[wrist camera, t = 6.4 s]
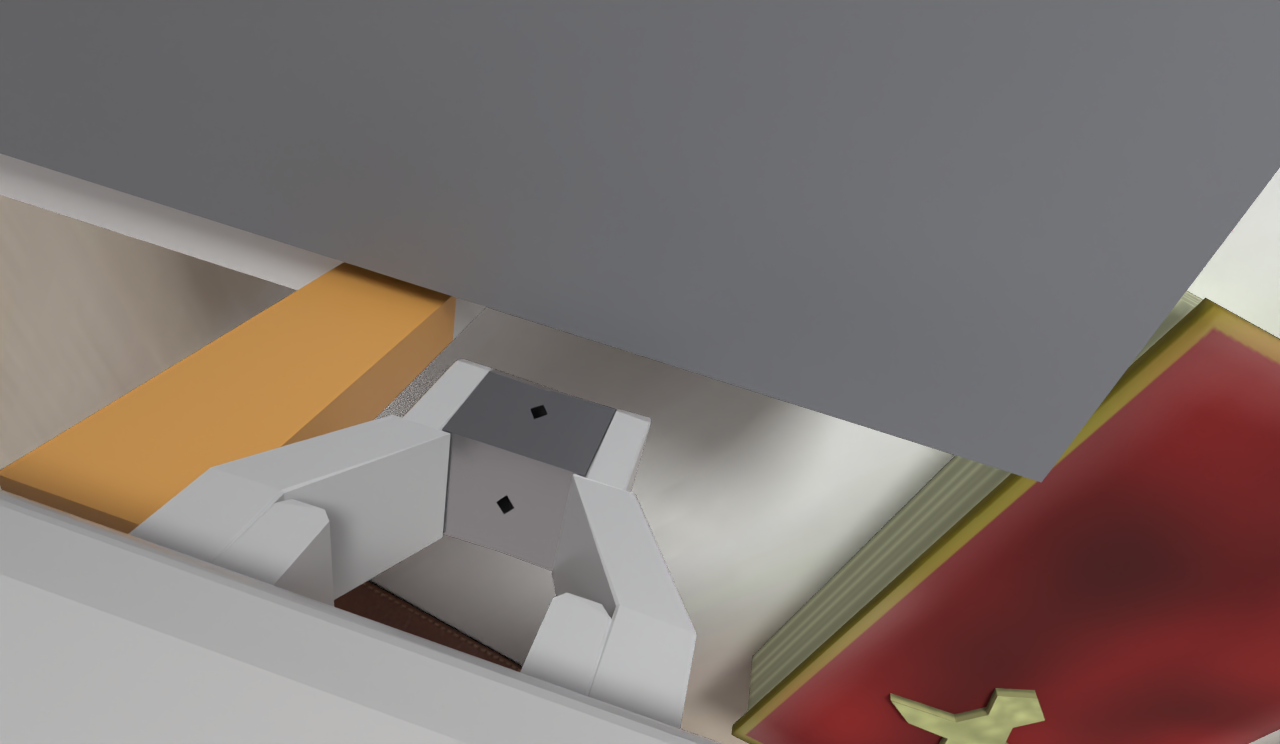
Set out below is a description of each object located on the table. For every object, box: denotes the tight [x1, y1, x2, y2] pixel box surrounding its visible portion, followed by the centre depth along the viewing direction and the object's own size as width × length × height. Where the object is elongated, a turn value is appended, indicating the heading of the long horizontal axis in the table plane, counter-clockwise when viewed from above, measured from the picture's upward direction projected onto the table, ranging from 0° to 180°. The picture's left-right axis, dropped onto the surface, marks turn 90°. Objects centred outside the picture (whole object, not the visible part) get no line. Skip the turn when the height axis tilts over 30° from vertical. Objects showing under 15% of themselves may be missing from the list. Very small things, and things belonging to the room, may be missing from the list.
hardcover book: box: [732, 291, 1280, 744], centre depth 22 cm, size 12×21×4 cm, turn 155°
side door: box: [0, 154, 486, 534], centre depth 13 cm, size 1×10×14 cm, turn 77°
